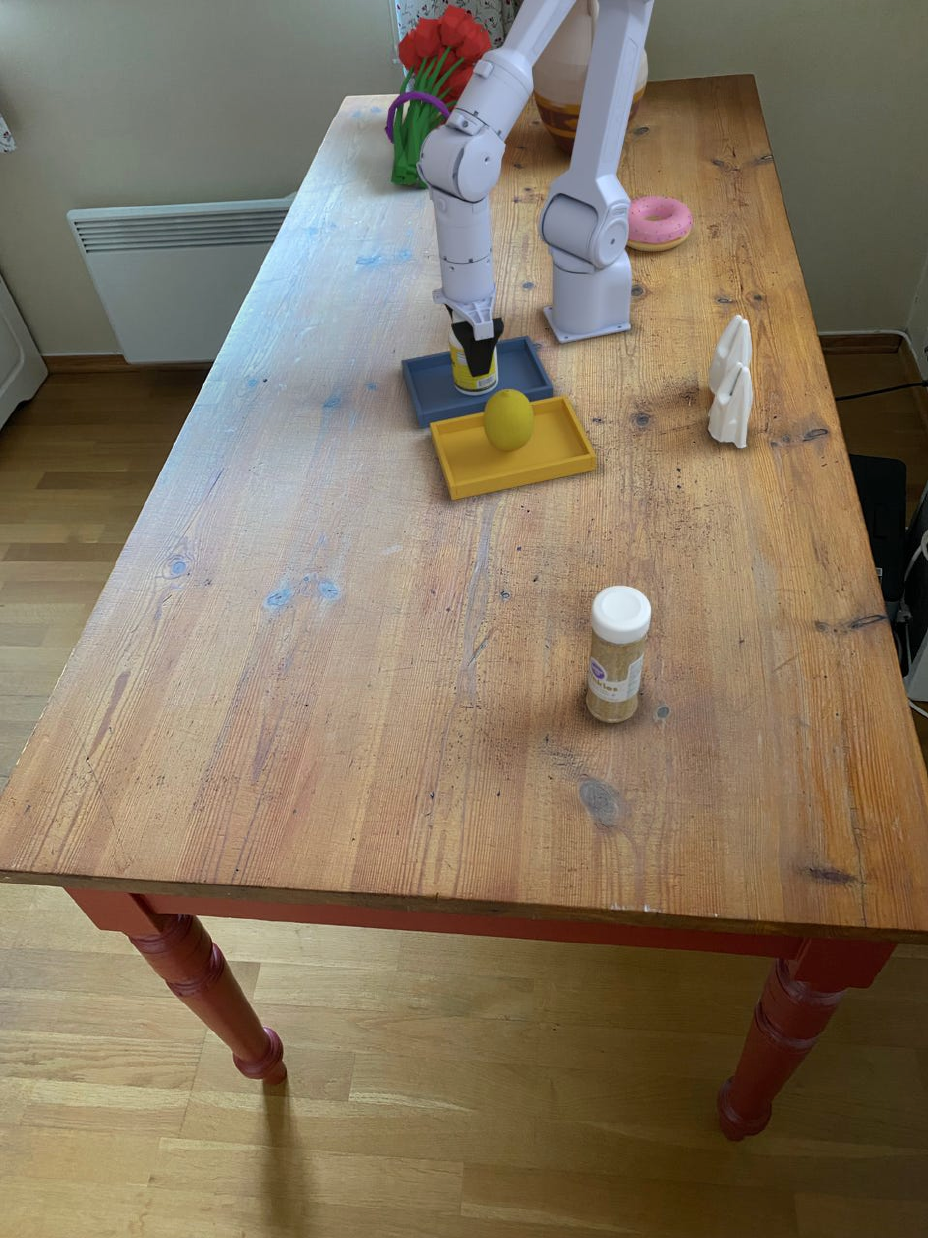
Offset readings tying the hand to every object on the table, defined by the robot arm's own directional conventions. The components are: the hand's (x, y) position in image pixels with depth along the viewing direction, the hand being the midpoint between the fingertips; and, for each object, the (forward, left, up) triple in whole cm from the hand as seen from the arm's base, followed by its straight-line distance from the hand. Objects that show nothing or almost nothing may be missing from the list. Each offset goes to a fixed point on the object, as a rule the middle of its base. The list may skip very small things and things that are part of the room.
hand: (474, 359), depth 105 cm
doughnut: (-32, -26, -4) cm, 41 cm away
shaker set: (-26, +14, -4) cm, 30 cm away
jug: (-32, -56, -4) cm, 65 cm away
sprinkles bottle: (-1, +48, -4) cm, 48 cm away
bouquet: (-8, -65, -4) cm, 66 cm away
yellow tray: (-1, +13, -4) cm, 14 cm away
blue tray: (0, 0, -4) cm, 4 cm away
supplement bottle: (0, 0, -4) cm, 4 cm away
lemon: (-1, +13, -4) cm, 14 cm away
